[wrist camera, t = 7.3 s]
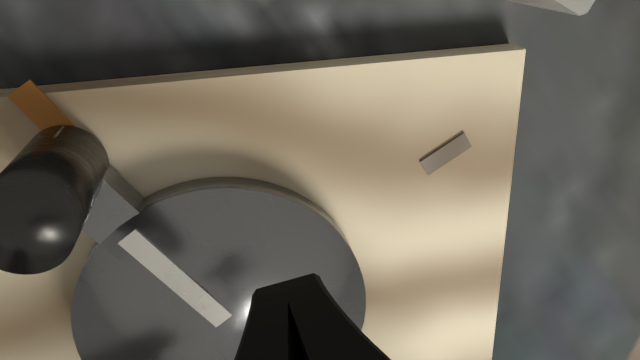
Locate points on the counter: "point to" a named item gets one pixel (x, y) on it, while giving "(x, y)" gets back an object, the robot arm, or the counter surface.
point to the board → (312, 177)
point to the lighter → (561, 5)
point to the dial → (163, 250)
